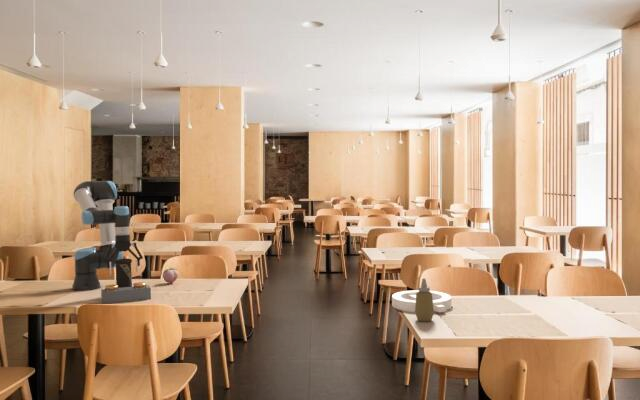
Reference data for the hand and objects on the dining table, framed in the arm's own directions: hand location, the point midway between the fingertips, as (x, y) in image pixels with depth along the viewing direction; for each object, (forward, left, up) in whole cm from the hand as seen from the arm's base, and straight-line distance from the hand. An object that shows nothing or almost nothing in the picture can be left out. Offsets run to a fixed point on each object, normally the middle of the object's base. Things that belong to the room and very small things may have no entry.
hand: (123, 273), depth 296 cm
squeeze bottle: (+165, -4, -12) cm, 166 cm away
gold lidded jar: (+15, -5, -11) cm, 19 cm away
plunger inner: (+5, -15, -11) cm, 19 cm away
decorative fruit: (+4, +35, -12) cm, 38 cm away
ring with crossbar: (+159, +23, -13) cm, 161 cm away
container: (0, 0, -12) cm, 12 cm away
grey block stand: (+10, -10, -12) cm, 18 cm away
